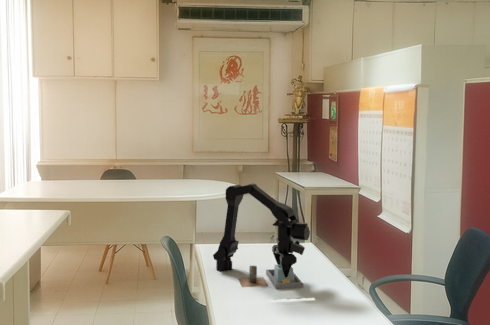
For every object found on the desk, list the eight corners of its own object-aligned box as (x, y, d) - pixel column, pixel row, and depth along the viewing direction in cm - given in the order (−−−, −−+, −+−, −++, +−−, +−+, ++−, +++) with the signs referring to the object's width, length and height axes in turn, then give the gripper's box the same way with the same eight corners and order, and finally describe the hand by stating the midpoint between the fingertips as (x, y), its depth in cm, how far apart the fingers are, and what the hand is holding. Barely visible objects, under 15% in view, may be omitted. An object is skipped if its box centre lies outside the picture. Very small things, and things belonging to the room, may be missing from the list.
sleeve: (294, 284, 203) (294, 270, 203) (278, 285, 202) (279, 270, 202) (289, 277, 211) (289, 264, 211) (274, 278, 210) (274, 264, 210)
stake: (241, 289, 199) (242, 271, 199) (237, 280, 210) (238, 263, 209) (268, 288, 201) (268, 270, 200) (263, 279, 212) (263, 262, 211)
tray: (275, 291, 198) (275, 284, 197) (265, 276, 216) (266, 269, 216) (302, 290, 199) (302, 282, 199) (290, 275, 218) (290, 268, 218)
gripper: (309, 242, 198) (308, 280, 200) (297, 231, 216) (296, 266, 218) (282, 242, 196) (281, 281, 198) (272, 232, 215) (271, 267, 216)
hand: (283, 273), depth 207 cm, fingers open, 9 cm apart
